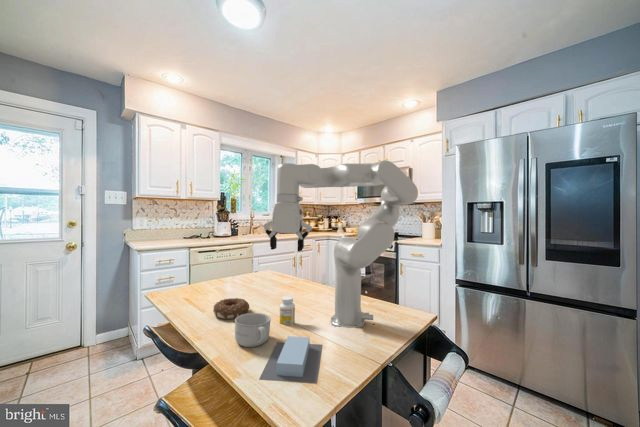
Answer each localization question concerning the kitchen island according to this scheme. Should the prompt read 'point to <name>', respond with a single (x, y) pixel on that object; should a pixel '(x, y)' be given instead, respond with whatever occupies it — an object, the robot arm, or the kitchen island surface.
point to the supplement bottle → (287, 311)
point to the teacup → (252, 329)
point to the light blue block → (293, 357)
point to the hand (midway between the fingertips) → (286, 249)
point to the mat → (309, 370)
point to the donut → (231, 308)
